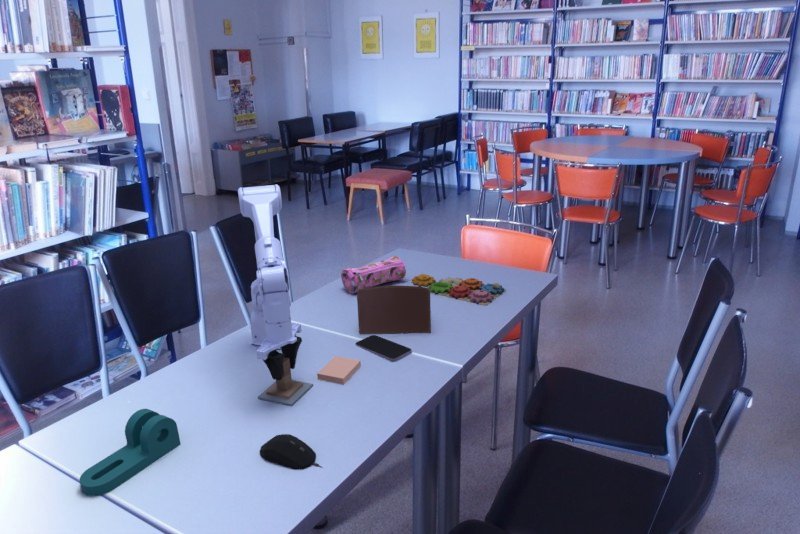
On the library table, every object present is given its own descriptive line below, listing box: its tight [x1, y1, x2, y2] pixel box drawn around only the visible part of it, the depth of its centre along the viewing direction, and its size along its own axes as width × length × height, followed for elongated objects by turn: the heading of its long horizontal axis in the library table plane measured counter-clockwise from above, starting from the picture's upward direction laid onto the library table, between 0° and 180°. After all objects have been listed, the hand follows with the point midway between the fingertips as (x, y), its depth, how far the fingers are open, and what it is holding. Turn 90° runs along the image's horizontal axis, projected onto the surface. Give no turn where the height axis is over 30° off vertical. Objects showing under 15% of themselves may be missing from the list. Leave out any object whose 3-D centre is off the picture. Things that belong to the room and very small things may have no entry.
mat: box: [257, 379, 314, 407], centre depth 133 cm, size 9×9×1 cm
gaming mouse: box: [259, 433, 324, 470], centre depth 111 cm, size 6×15×4 cm, turn 61°
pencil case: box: [340, 255, 407, 295], centre depth 192 cm, size 21×9×9 cm, turn 124°
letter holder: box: [356, 285, 432, 335], centre depth 162 cm, size 10×20×14 cm, turn 89°
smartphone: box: [355, 334, 413, 363], centre depth 152 cm, size 7×1×15 cm
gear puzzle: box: [411, 273, 507, 307], centre depth 189 cm, size 31×16×4 cm, turn 55°
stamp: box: [266, 357, 303, 399], centre depth 132 cm, size 6×6×8 cm
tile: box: [316, 355, 362, 385], centre depth 140 cm, size 2×9×7 cm
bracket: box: [79, 408, 181, 497], centre depth 109 cm, size 18×7×8 cm, turn 149°
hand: (283, 373), depth 131 cm, fingers open, 5 cm apart
